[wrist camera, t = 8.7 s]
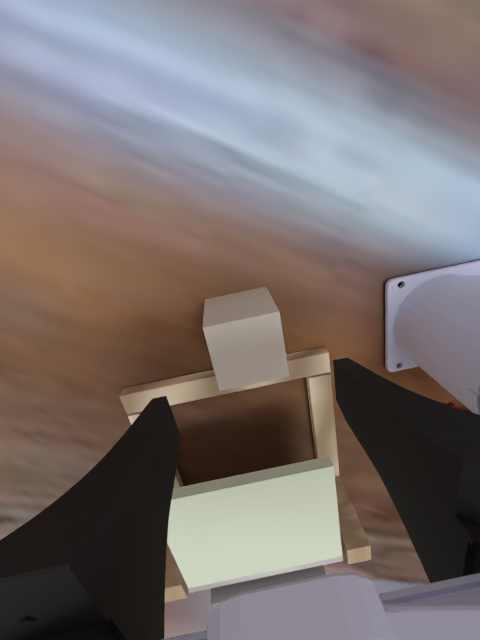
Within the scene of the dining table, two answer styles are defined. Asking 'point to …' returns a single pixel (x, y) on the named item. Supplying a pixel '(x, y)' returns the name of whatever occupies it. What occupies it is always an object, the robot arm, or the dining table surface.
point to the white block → (245, 338)
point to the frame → (323, 427)
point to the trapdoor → (256, 528)
